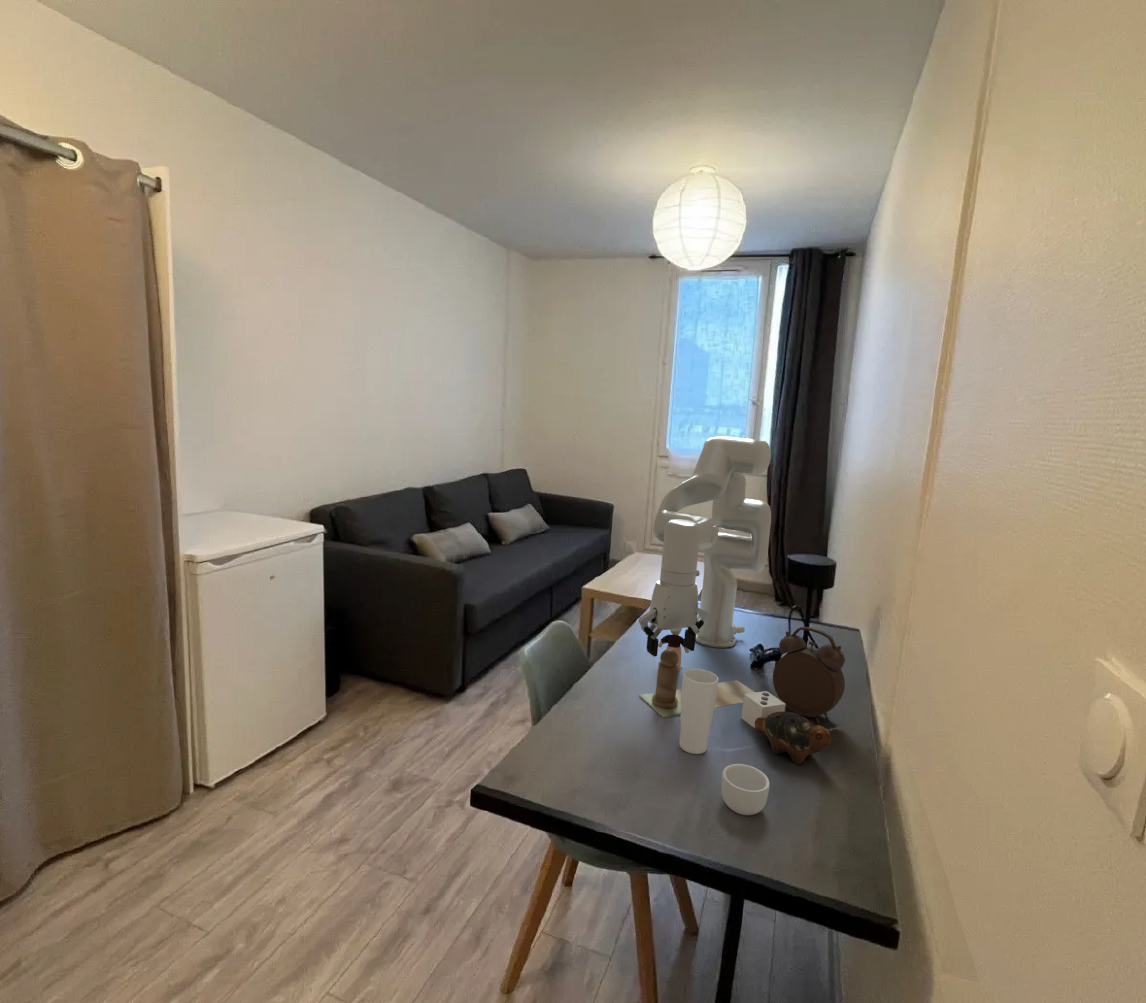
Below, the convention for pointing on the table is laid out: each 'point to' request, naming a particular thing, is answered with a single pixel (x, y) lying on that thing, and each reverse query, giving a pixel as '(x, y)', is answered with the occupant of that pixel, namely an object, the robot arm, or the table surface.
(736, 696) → the track board
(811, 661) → the alarm clock
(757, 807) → the teacup
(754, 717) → the die
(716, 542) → the robot arm
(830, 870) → the table surface
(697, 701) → the drinking glass
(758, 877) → the table surface
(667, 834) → the table surface
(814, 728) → the decorative turtle
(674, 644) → the grandmother figurine
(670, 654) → the pawn
